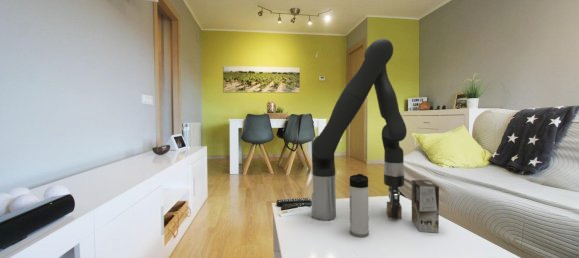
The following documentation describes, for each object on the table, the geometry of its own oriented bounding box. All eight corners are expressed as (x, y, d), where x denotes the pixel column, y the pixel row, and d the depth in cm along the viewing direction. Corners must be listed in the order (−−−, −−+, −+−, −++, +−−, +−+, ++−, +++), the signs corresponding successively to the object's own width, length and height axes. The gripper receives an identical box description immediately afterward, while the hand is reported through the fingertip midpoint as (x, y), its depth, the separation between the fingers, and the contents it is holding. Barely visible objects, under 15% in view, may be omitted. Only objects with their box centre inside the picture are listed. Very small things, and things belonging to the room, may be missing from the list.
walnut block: (387, 218, 93) (387, 205, 93) (386, 213, 98) (386, 201, 98) (401, 219, 92) (401, 207, 91) (399, 214, 96) (399, 202, 96)
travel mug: (369, 230, 83) (369, 174, 83) (367, 239, 77) (367, 179, 77) (351, 227, 86) (351, 173, 85) (348, 235, 80) (347, 177, 79)
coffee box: (439, 233, 80) (439, 186, 80) (419, 231, 82) (419, 185, 81) (429, 221, 89) (429, 179, 89) (411, 220, 90) (411, 179, 90)
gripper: (382, 168, 102) (382, 207, 103) (385, 176, 88) (385, 220, 89) (401, 169, 100) (401, 208, 100) (407, 178, 86) (407, 223, 87)
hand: (394, 214), depth 95 cm, fingers open, 5 cm apart
